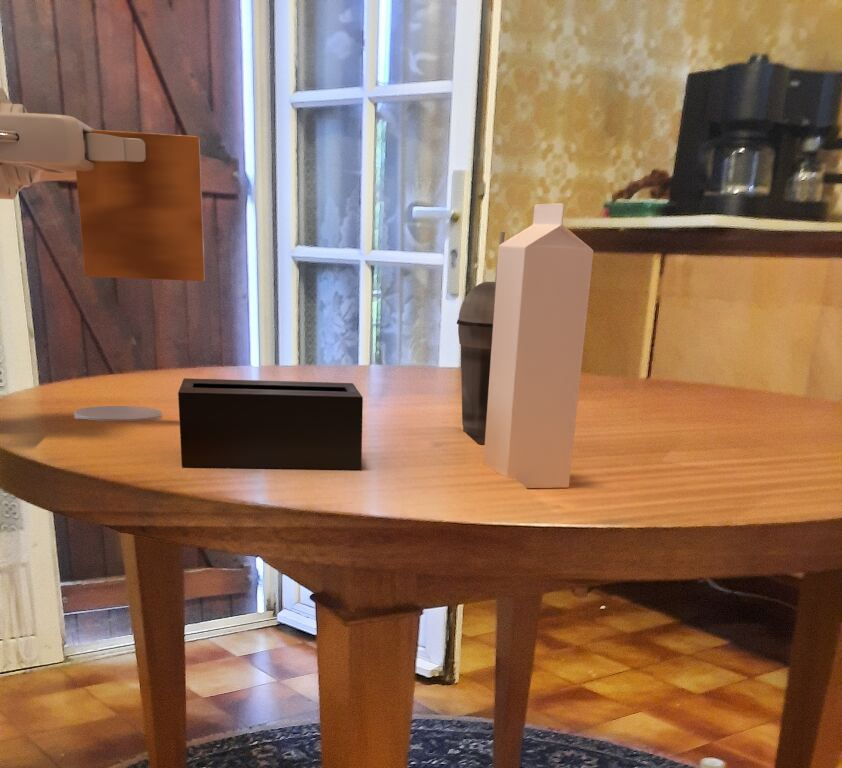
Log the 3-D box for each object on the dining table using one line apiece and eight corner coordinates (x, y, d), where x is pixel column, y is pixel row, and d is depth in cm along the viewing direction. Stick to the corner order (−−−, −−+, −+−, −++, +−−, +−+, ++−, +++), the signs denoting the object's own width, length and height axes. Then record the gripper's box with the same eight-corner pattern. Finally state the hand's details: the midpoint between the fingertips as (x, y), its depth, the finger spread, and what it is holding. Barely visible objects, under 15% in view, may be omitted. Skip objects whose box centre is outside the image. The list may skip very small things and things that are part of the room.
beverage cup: (440, 442, 111) (451, 229, 103) (463, 432, 118) (476, 230, 109) (506, 449, 109) (523, 232, 100) (527, 439, 115) (544, 234, 107)
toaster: (182, 479, 89) (177, 391, 86) (187, 458, 97) (183, 378, 94) (361, 481, 92) (362, 396, 88) (351, 461, 100) (352, 383, 96)
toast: (84, 276, 100) (72, 128, 95) (87, 275, 101) (75, 129, 96) (204, 281, 101) (198, 136, 96) (205, 280, 103) (199, 137, 98)
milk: (505, 489, 92) (527, 201, 82) (481, 475, 97) (499, 202, 87) (570, 488, 93) (599, 205, 84) (543, 473, 98) (567, 205, 89)
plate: (78, 431, 107) (77, 419, 107) (71, 417, 115) (70, 406, 114) (169, 430, 110) (168, 418, 110) (156, 416, 118) (155, 405, 117)
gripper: (-48, 87, 84) (132, 99, 86) (8, 113, 103) (155, 122, 104) (-36, 177, 87) (138, 187, 89) (15, 187, 105) (159, 195, 107)
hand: (147, 152), depth 97 cm, fingers closed on toast, 1 cm apart
